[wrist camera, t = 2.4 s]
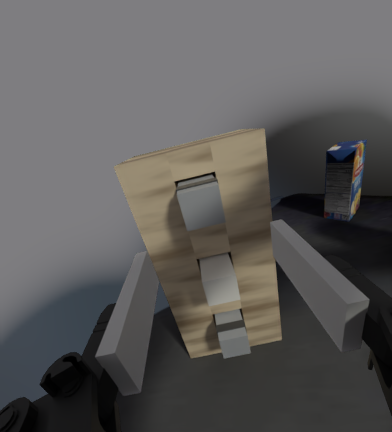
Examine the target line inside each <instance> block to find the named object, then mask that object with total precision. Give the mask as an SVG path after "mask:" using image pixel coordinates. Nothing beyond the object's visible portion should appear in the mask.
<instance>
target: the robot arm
mask: <svg viewBox="0 0 392 432" xmlns="http://www.w3.org/2000/svg"><path fill="white" fill-rule="evenodd" d="M270 227H271V239H272V250H273V257H274V258H275V259H276V261H277V262H278V264H279V265H280V266H281V268H282V269H283V271H284V272H285V273H286V275H287V276H288V278H289V279H290V281H291V282H292V283H293V285H294V286H295V288H296V289H297V290H298V292H299V293H300V295H301V296H302V297H303V299H304V300H305V302H306V303H307V304H308V306H309V307H310V309H311V310H312V312H313V313H314V314H315V316H316V317H317V319H318V320H319V321H320V323H321V324H322V326H323V327H324V328H325V330H326V331H327V333H328V334H329V335H330V337H331V338H332V340H333V341H334V343H335V344H336V345H337V347H338V348H339V350H340V351H341V352H346V351H351V350H356V349H361V344H362V339H363V340H364V342H365V343H366V344H367V345H368V346H369V347H370V349H371V350H370V355H369V360H368V369H369V370H372V368H373V365H374V368H375V370H376V373H377V376H378V379H379V382H380V384H381V387H382V390H383V393H384V396H385V398H386V401H387V404H388V407H389V410H390V412H391V415H392V298H391V297H390V296H389V295H387V294H386V293H385V292H384V291H382V290H381V289H380V288H379V287H377V286H376V285H375V284H374V283H372V282H371V281H370V280H369V279H367V278H366V277H365V276H364V275H361V273H360V272H359V271H358V270H356V269H355V268H353V266H351V265H350V264H349V263H348V262H346V261H345V260H344V259H341V258H339V257H337V256H335V255H333V254H332V255H328V256H323V257H322V256H321V255H320V254H319V253H318V252H317V251H316V250H315V249H314V248H312V247H311V246H310V245H309V244H308V243H307V242H306V241H305V240H304V239H303V238H301V237H300V236H299V235H298V234H297V233H296V232H295V231H294V230H293V229H292V228H290V227H289V226H288V225H287V224H286V223H285V222H284V221H283V220H282V219H281V220H277V221H273V222H270ZM158 286H159V279H158V277H157V274H156V272H155V269H154V267H153V265H152V262H151V260H150V257H149V255H148V252H147V251H144V252H139V253H136V255H135V257H134V260H133V262H132V265H131V267H130V270H129V273H128V275H127V278H126V280H125V282H124V285H123V288H122V290H121V293H120V295H119V298H118V300H117V303H114V304H110V305H108V306H107V307H106V308H105V309H104V311H103V312H102V313H101V315H100V317H99V319H98V321H97V325H96V326H95V328H94V330H93V334H92V335H91V337H90V339H89V341H88V344H87V346H86V348H85V350H84V352H83V354H82V356H80V354H78V353H77V352H71V353H68V354H66V355H63V356H62V357H61V358H59V359H58V360H56V361H55V362H54V363H53V364H52V365H51V366H50V367H49V368H48V370H47V371H46V373H45V374H44V376H43V378H42V380H41V383H40V386H41V387H42V388H43V389H44V390H45V391H46V392H47V393H48V394H47V395H45V396H43V397H42V398H40V399H38V400H36V401H34V402H31V401H30V400H29V399H27V398H25V397H23V398H18V399H16V400H14V401H12V402H11V403H9V404H8V405H7V406H6V407H4V408H3V409H2V410H1V411H0V432H121V426H120V417H119V407H118V404H117V402H116V401H115V399H116V395H117V391H118V389H119V391H120V392H121V394H122V395H123V396H126V395H131V394H136V393H141V388H142V382H143V376H144V370H145V364H146V358H147V352H148V346H149V340H150V334H151V328H152V322H153V316H154V310H155V304H156V298H157V292H158Z"/></svg>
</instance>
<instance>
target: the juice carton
mask: <svg viewBox="0 0 392 432" xmlns="http://www.w3.org/2000/svg"><path fill="white" fill-rule="evenodd" d="M366 141H367V140H359V141H348V142H339V143H337V144H336V145H334V146H333V147H331V148H330V149H329V150H327V152H326V179H325V203H324V218H329V219H335V220H342V221H348V222H349V221H350V219H351V218H352V216H353V215H354V214H355V212H356V211H357V209H358V208H359V201H360V192H361V184H362V175H363V167H364V157H365V149H366Z"/></svg>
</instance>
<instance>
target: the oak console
mask: <svg viewBox="0 0 392 432" xmlns="http://www.w3.org/2000/svg"><path fill="white" fill-rule="evenodd" d="M114 169H115V171H116V174H117V176H118V179H119V181H120V184H121V186H122V189H123V191H124V194H125V196H126V199H127V201H128V204H129V206H130V209H131V211H132V213H133V216H134V219H135V221H136V224H137V226H138V229H139V231H140V233H141V236H142V238H143V241H144V243H145V246H146V248H147V251H148V253H149V256H150V258H151V261H152V263H153V266H154V268H155V271H156V273H157V276H158V278H159V281H160V283H161V286H162V288H163V291H164V293H165V295H166V298H167V301H168V303H169V306H170V308H171V310H172V313H173V315H174V318H175V320H176V323H177V325H178V328H179V330H180V333H181V335H182V338H183V340H184V343H185V345H186V348H187V350H188V353H189V355H190V358H196V357H201V356H206V355H210V354H215V353H220V352H222V350H221V346H220V343H219V339H218V336H217V332H216V326H215V325H216V320H215V314H218V313H222V312H227V311H232V310H236V309H239V310H240V313H241V316H242V319H244V322H245V326H246V331H247V336H248V341H249V346H254V345H259V344H264V343H269V342H274V341H278V340H282V335H281V323H280V311H279V299H278V287H277V274H276V262H275V258H274V257H273V250H272V239H271V227H270V222H272V214H271V202H270V189H269V178H268V165H267V153H266V142H265V129H240V130H236V131H233V132H229V133H225V134H221V135H217V136H213V137H209V138H205V139H201V140H198V141H193V142H189V143H185V144H181V145H178V146H174V147H170V148H166V149H162V150H158V151H154V152H150V153H147V154H142V155H138V156H134V157H132V158H130V159H128V160H126V161H124V162H122V163H120V164H118V165H116V166H115V167H114ZM208 175H213V177H214V178H215V177H216V178H217V180H218V184H219V190H220V195H221V200H222V205H223V210H224V216H225V221H226V222H225V223H221V224H216V225H212V226H208V227H204V228H199V229H195V230H191V231H187V228H186V225H185V221H184V218H183V215H182V211H181V208H180V204H179V201H178V197H177V193H176V187H178V183H180V182H184V181H188V180H192V179H196V178H200V177H204V176H208ZM227 252H228V254H229V257H230V260H231V263H232V265H233V268H234V271H235V274H236V278H237V283H238V289H239V294H240V299H241V300H236V301H232V302H227V303H222V304H218V305H213V306H209V305H208V301H207V298H206V294H205V291H204V287H203V284H202V278H201V269H200V261H199V259H200V258H205V257H209V256H214V255H218V254H222V253H227Z"/></svg>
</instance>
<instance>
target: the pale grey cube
mask: <svg viewBox="0 0 392 432" xmlns="http://www.w3.org/2000/svg"><path fill="white" fill-rule="evenodd" d="M199 261H200V269H201V278H202V284H203V287H204V291H205V294H206V298H207V301H208V305H209V306H213V305H218V304H222V303H227V302H232V301H236V300H241V299H240V294H239V289H238V283H237V278H236V274H235V271H234V268H233V265H232V263H231V260H230V257H229V254H228V252H227V253H222V254H218V255H214V256H209V257H205V258H200V259H199Z"/></svg>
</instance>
